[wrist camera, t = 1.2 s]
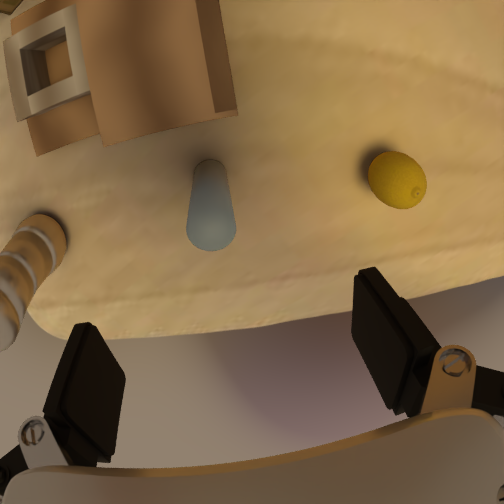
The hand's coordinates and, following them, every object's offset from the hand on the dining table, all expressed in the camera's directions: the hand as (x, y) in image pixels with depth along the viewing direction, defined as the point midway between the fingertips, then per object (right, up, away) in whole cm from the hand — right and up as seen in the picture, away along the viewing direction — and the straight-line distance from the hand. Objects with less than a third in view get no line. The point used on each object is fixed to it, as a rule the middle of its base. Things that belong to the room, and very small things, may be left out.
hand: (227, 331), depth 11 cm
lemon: (+15, +12, +22) cm, 29 cm away
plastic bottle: (-23, +5, +20) cm, 31 cm away
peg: (-3, +10, +20) cm, 23 cm away
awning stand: (-12, +21, +12) cm, 28 cm away
